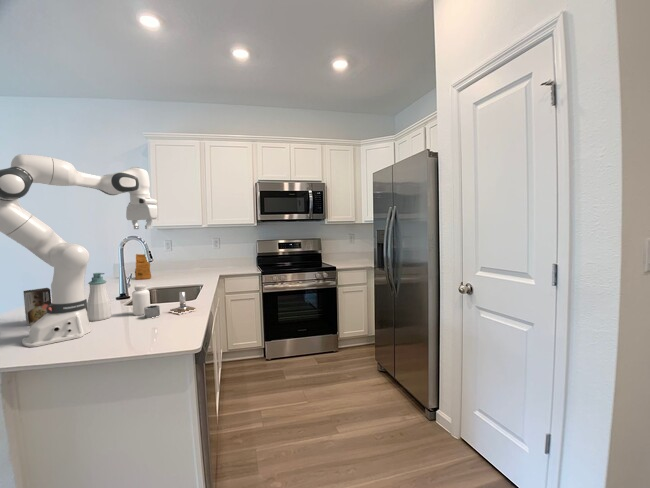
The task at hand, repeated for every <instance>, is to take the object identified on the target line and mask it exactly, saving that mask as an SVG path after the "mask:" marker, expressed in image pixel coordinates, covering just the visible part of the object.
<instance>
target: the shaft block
mask: <svg viewBox="0 0 650 488" xmlns="http://www.w3.org/2000/svg"><path fill="white" fill-rule="evenodd" d="M186 301H187V300H186V291H179V306H178V307H175V308H171V309H170V310H169V312H170V311H174V312H178V313H181V312H185V311H189V310H194V309H196V307H193V306H189V305H186Z"/></svg>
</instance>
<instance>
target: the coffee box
mask: <svg viewBox="0 0 650 488" xmlns="http://www.w3.org/2000/svg"><path fill="white" fill-rule="evenodd" d="M23 302H24V313H25V322H26V323H25V324H26V325H27V326H28V327H31V326H32V325H33V324H34V323H35V322H36V321H38V320H39V319H40V318H42V317H43V316H44V315H45V314H47V312H46V310H45V309H43V308H42V306H43V305H45V304H47V305H50V304H51V303H52V293H51V288H49V287H43V288H35V289H28V290H23Z"/></svg>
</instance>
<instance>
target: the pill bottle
mask: <svg viewBox="0 0 650 488" xmlns="http://www.w3.org/2000/svg"><path fill="white" fill-rule="evenodd" d="M133 288H134V290H133V292H132V294H131V297H132V298H131V299H132V314H133V315H134V316H145V315H144V314H145V313H144V308H145V307H148V306H151V296H150V295H151V294H150V290H148V289H147V284H136V285H134V286H133Z"/></svg>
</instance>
